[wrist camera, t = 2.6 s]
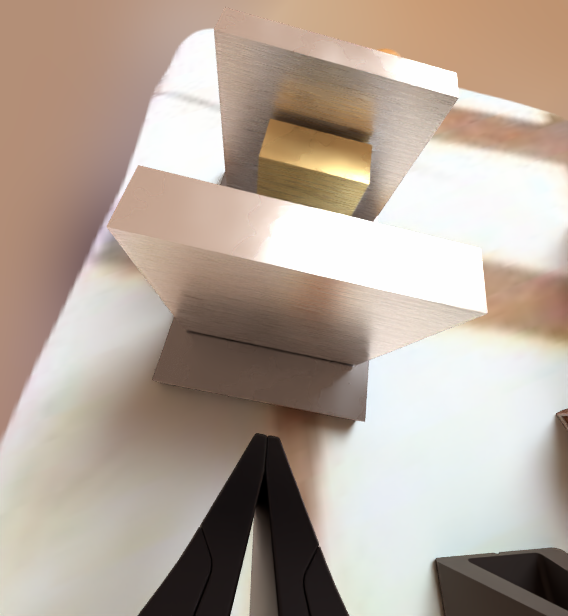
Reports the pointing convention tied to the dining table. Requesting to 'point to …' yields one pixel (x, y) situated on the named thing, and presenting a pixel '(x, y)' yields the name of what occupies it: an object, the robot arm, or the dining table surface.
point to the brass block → (313, 168)
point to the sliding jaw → (292, 270)
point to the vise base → (262, 373)
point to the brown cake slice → (563, 417)
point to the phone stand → (505, 583)
